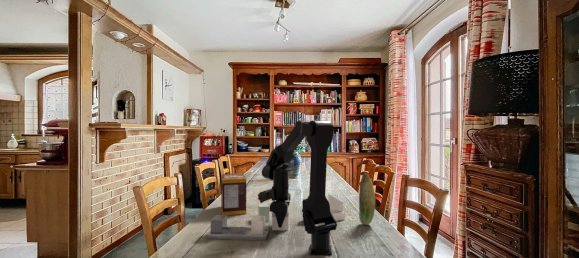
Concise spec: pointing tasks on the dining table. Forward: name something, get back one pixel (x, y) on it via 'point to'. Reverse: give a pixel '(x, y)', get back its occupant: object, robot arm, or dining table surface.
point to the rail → (238, 229)
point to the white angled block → (336, 208)
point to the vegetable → (366, 200)
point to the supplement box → (233, 194)
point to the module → (284, 226)
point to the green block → (263, 210)
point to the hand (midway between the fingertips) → (280, 224)
